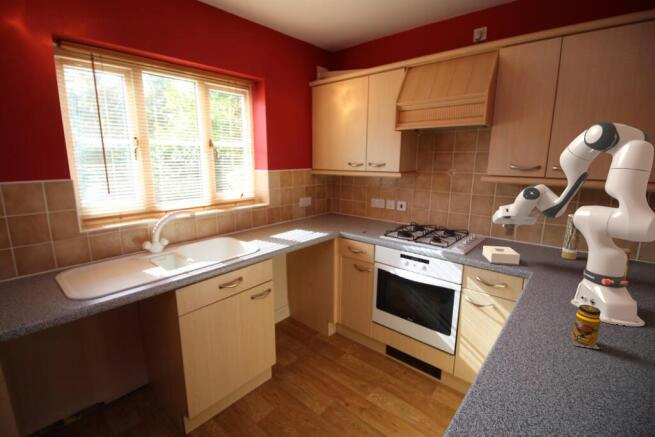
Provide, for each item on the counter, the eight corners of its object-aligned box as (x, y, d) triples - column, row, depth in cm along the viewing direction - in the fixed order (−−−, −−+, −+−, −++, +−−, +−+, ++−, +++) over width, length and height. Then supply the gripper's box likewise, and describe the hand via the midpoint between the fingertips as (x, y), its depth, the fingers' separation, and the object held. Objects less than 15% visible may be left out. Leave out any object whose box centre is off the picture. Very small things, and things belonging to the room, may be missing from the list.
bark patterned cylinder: (570, 256, 185) (578, 214, 180) (578, 260, 178) (586, 216, 173) (558, 255, 185) (565, 214, 180) (565, 259, 179) (573, 216, 174)
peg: (514, 236, 171) (516, 219, 169) (506, 235, 172) (508, 219, 170) (511, 234, 175) (513, 218, 173) (503, 233, 176) (505, 218, 174)
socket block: (518, 265, 169) (520, 254, 167) (490, 263, 171) (491, 253, 169) (508, 257, 182) (509, 247, 181) (482, 255, 184) (483, 245, 183)
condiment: (575, 347, 98) (582, 311, 96) (563, 332, 106) (569, 299, 104) (603, 351, 96) (611, 315, 94) (589, 335, 104) (595, 302, 102)
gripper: (539, 207, 161) (528, 222, 173) (496, 206, 165) (488, 220, 176) (542, 217, 158) (531, 232, 170) (498, 216, 161) (490, 230, 173)
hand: (509, 226), depth 173 cm, fingers closed on peg, 4 cm apart
